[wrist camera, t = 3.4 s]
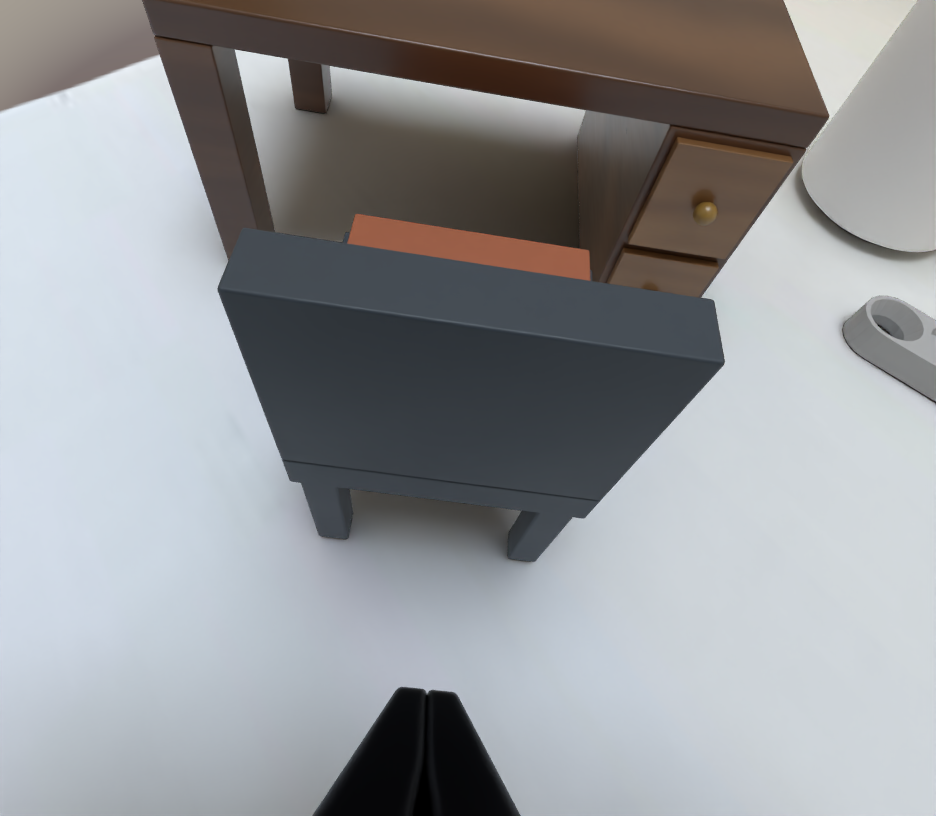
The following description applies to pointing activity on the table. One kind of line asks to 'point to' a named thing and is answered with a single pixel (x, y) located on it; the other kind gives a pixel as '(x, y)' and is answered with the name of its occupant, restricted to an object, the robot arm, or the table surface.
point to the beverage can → (885, 145)
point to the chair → (459, 369)
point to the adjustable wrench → (896, 341)
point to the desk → (542, 80)
